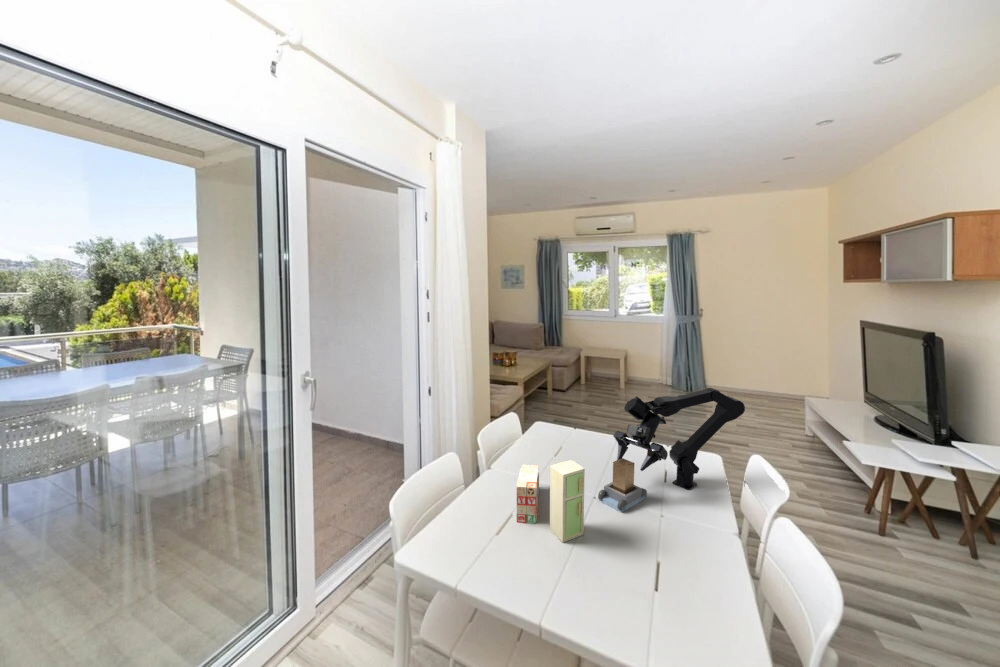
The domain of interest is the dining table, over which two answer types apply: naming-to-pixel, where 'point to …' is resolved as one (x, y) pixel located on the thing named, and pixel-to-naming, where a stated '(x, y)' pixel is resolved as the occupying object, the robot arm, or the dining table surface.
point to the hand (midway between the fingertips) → (629, 465)
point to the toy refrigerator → (567, 500)
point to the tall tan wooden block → (623, 476)
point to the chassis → (621, 497)
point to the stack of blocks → (527, 494)
